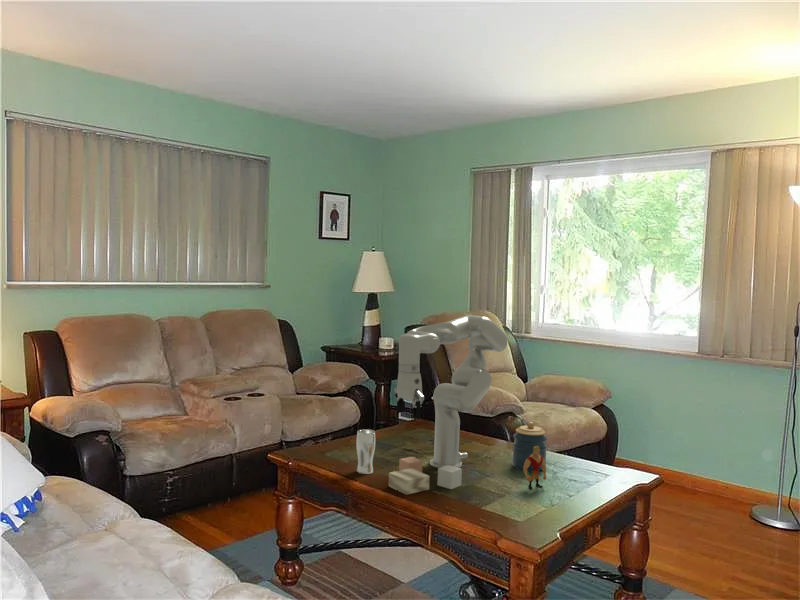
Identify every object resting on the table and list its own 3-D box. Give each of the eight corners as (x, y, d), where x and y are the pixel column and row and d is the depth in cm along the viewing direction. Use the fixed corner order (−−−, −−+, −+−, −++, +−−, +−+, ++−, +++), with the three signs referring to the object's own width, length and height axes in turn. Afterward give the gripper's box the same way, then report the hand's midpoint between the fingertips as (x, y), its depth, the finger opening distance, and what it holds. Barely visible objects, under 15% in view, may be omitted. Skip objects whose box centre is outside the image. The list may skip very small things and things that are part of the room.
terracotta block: (412, 472, 237) (412, 456, 237) (421, 477, 232) (422, 460, 232) (398, 475, 234) (399, 458, 233) (408, 479, 229) (409, 463, 228)
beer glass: (371, 475, 232) (373, 434, 231) (353, 473, 233) (354, 433, 232) (376, 469, 238) (377, 430, 238) (358, 468, 240) (359, 428, 239)
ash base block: (411, 481, 227) (411, 468, 227) (429, 490, 219) (429, 475, 219) (388, 486, 221) (388, 472, 221) (406, 495, 213) (406, 480, 213)
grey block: (447, 481, 228) (447, 464, 228) (461, 485, 224) (461, 468, 224) (437, 485, 224) (438, 468, 223) (451, 489, 220) (452, 472, 220)
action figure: (526, 490, 221) (528, 447, 220) (520, 487, 224) (522, 445, 224) (549, 487, 225) (551, 445, 224) (542, 484, 228) (544, 443, 228)
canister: (526, 473, 240) (528, 427, 239) (505, 464, 251) (507, 419, 250) (553, 469, 246) (555, 424, 245) (531, 460, 257) (532, 417, 257)
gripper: (432, 371, 225) (431, 418, 226) (404, 363, 239) (403, 408, 240) (414, 373, 221) (414, 421, 222) (387, 365, 235) (386, 411, 236)
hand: (408, 415), depth 231 cm, fingers open, 9 cm apart
